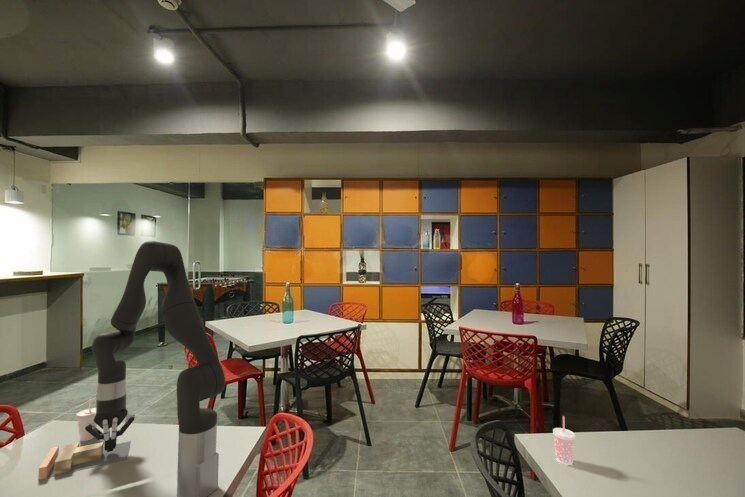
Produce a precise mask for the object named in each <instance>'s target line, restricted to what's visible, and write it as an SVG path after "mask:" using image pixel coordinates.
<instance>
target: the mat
mask: <svg viewBox="0 0 745 497" xmlns="http://www.w3.org/2000/svg"><path fill="white" fill-rule="evenodd" d="M131 443H132V440H129V441H126V442H125V441H124V442H121V443H116V447H115V449H113V451H110V452H107V450H106V451H105V446H103V454H102V457H101V459H98V460H94V461H89V462H85V463H80V464H76V465H73V466H72V468H71V470H70V471H68V472H64V473H60V474H55V475H54V465H53V467H52V469H51V471H50V472H49V474H48V476H47V478H45V479H50V478H53V477H54V478H55V477H57V476H61V475H66V474H70V473H75V472H78V471H83V470H87V469H91V468H96V467H100V466H104V465H108V464H112V463H116V462H121V461H126V460H128V457H129V453H130V448H131ZM45 479H44V480H45ZM41 480H43V479H41Z"/></svg>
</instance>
